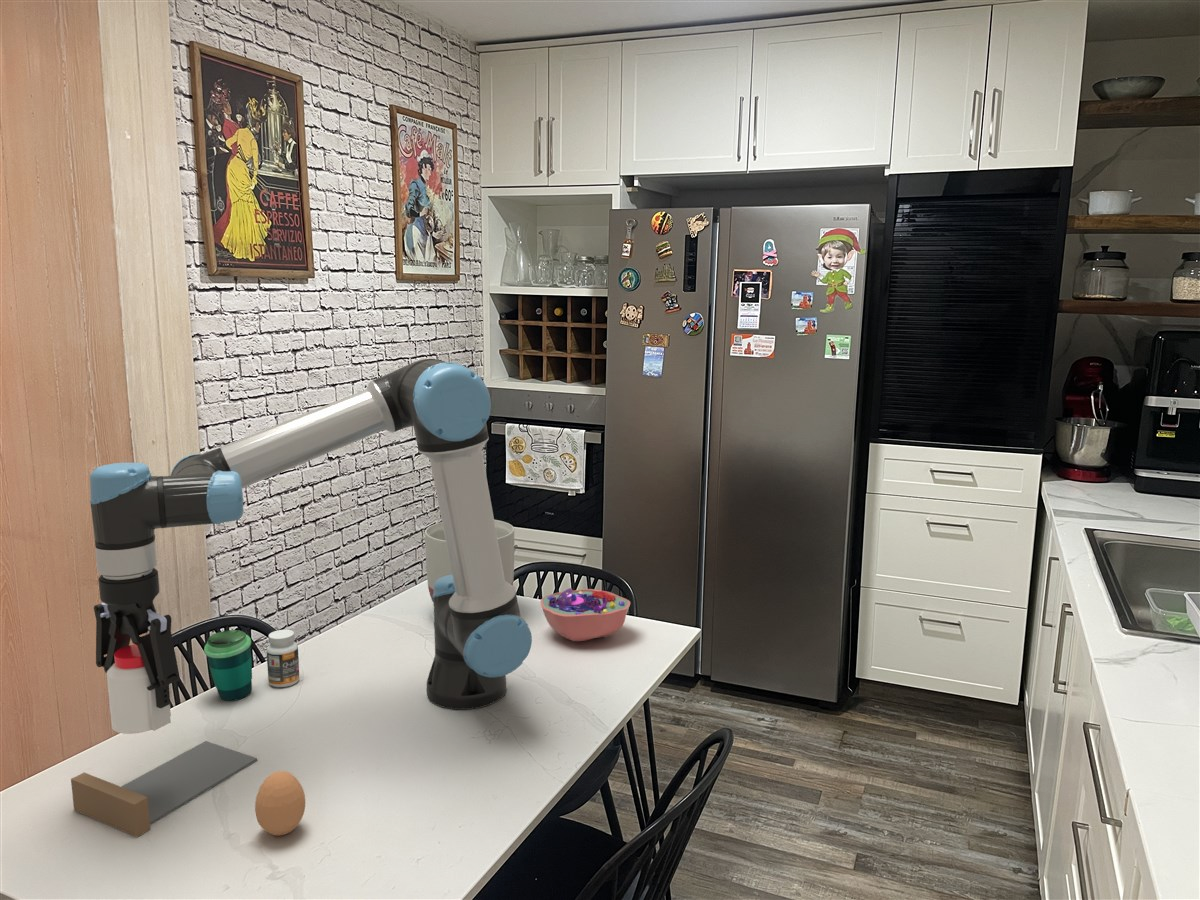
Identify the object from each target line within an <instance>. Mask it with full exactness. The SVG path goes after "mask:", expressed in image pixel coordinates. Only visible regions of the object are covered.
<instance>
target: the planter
mask: <svg viewBox="0 0 1200 900" xmlns="http://www.w3.org/2000/svg"><path fill="white" fill-rule="evenodd" d="M494 522H495V528H496V533H497V539H498V545H499V550H500V556H501V561H502V567H503V572H504V578H505V581H506V582H508V583H509V584H511V585H513V586H514V575H515V573H514V572H515V528H514V527H515V526H513V525H512V524H510V523H509V522H506V521H503V520H498V519H494ZM424 541H425V542H424V544H425V546H424V547H425V549H424V550H425V565H426V567H425V569H426V581H427V587H428V593H429V596H430V600H431V601H432V604H434V601H433V597H432V596H433V593H434V584H435V582H436V581H437V580H438V579H439V578H441V577H444V576H447V575H452V570H451V565H450V560H449V555H448V550H447V545H446V540H445V535H444V529H443V524H442V521H441V522H437V523H434V524H432V525H429V526H428V527H426V529H425V531H424Z"/></svg>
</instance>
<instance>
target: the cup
mask: <svg viewBox="0 0 1200 900" xmlns="http://www.w3.org/2000/svg"><path fill="white" fill-rule="evenodd" d="M251 645H252V639H251V637H250V635H248V634H246V632H244V631H243V630H238V629H231V630H230V629H228V630H223V631H219V632H218V631H217V632H215V633H213V634H211V635H210V636H209V637H208V639H207V642H206V644H205V645H204V649H203V650H204V651H203V652H204V654H205V655H206V658H207V661H208V667H209V670H210V673H211V677H212V680H213V683H214V686H215V688H216V691H217V694H218V697H219V699H221V700H223V701H226V702H227V701H228V702H229V701H230V702H232V701H238V700H242V699H244V698H246V697H248V696H249V695H250V694H251V693H252V689H253V683H252V680H253V669H252V667H253V666H252V663H253V662H252V653H251Z"/></svg>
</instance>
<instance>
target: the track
mask: <svg viewBox="0 0 1200 900" xmlns="http://www.w3.org/2000/svg"><path fill="white" fill-rule="evenodd" d="M256 762H258V758H257V757H256V756H255V757H254V756H252V755H250V754H245V753H243V752H240V751H237V750H234V749H232V748H228V747H225V746H222V745H219V744H216V743H213V742H210V741H207V740H204V741H202V742H201V743H199V744H197V745H195V746H194V747H191V748H190V749H188V750H186V751H183V753H180V754H179V755H177V756H175V757H173V758H172V759H169V760H167V761H166V762H164V763H162V764H160V765H158V766H157V767H155V768H153V769H151V770H148V771H147V772H146V773H144V774H142V775H139V776H138V777H136V778H134V779H132V780H131V781H128V782H127V783H125V784H123V785H121V786H119V785H117V784H116V783H112V782H110V781H107V780H106V779H105V780H104V779H103V778H99V777H97V776H94V775H92V774H90V773H87V772H82V773H80V774H78V775H76V776H74V777H72V778H70V783H71V791H72V792H71V793H72V800H73V801H72V803H73V809H74V811H75V812H77V813H81V814H83V815H84V816H87V817H90V818H91V819H93V820H97V821H99V822H101V823H104V824H105V825H107V826H111V827H113V828H115V829H117V830H120V831H122V832H124V833H127V834H129V835H132V836H133V837H137V838H139V837H140V836H142V835H144V834H146V832H149V831H150V830H151V825H153V824H155V823H156V822H157V821H159V820H160V819H162V818H164V817H166V816H167V815H168V814H169V815H170V813H172V812H174V811H176V810H177V809H179V808H181V807H182V806H185V804H187V803H189V802H191V801H192V800H194V799H195V798H198V797H199V796H200V795H203V794H204V793H205V792H207V791H209V790H210V789H212V788H214V787H215V786H217V785H219V784H221V783H222V782H224V781H226V780H227V779H229V778H230V777H233V776H234V775H235V774H237V773H239V772H241V771H243V770H244V769H246V768H248V767H249V766H251V765H252V764H254V763H256Z"/></svg>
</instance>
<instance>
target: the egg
mask: <svg viewBox="0 0 1200 900" xmlns="http://www.w3.org/2000/svg"><path fill="white" fill-rule="evenodd" d="M254 803H255V805H254V813H255V817H256V820H257V823H258V825H259V826H260V827H261V828H262V830H264V831H265V832H266V833H267V834H270V835H273V836H276V837H277V836H285V835H286V834H289V833H291V832H292V831H293V830H294V829H296V827H297V826H298V825H299V824H300V822H301V820H302V819H303V816H304V813H305V809H306V795H305V791H304V788H303V786H302V784H301V782H300V781H299V780H298V778H297V777H296V776H295V775H293V774H292V773H291V772H288V771H285V770H279V771H278V770H277V771H275V772H272V773H271V774H269V775H268V776H267V777H266V778H265V779H264V780H263V782H262V784H261V785H260V787H259V788H258V792H257V794H256V796H255V802H254Z"/></svg>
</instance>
